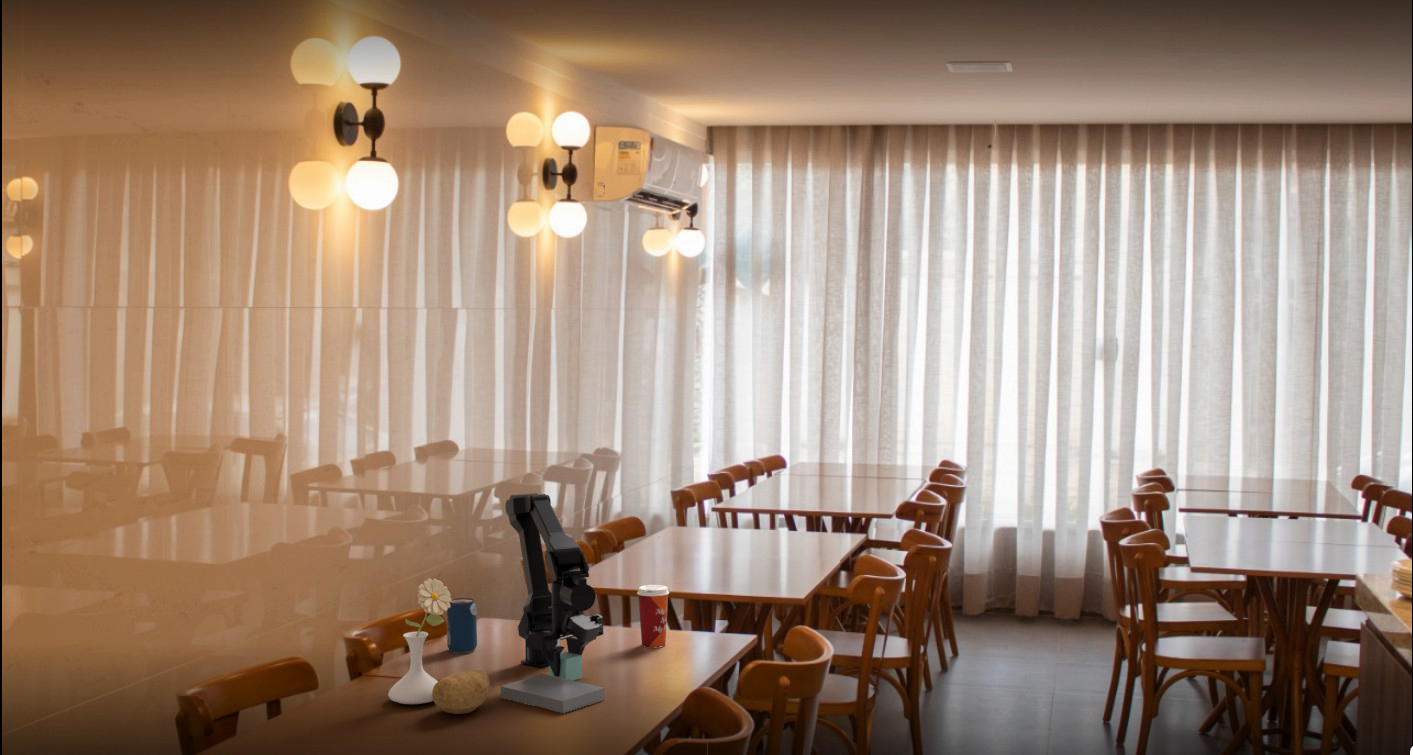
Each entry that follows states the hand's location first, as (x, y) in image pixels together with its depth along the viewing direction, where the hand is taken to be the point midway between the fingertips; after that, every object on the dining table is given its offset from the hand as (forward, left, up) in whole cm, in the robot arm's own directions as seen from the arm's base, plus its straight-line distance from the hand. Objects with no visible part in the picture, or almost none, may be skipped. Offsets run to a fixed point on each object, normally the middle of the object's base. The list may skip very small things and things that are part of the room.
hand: (565, 673), depth 287 cm
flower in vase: (-12, -30, -1) cm, 32 cm away
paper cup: (-4, +34, -1) cm, 34 cm away
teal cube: (0, 0, -1) cm, 1 cm away
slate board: (+9, -13, -1) cm, 16 cm away
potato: (+1, -30, -1) cm, 30 cm away
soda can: (-37, +3, -1) cm, 37 cm away
